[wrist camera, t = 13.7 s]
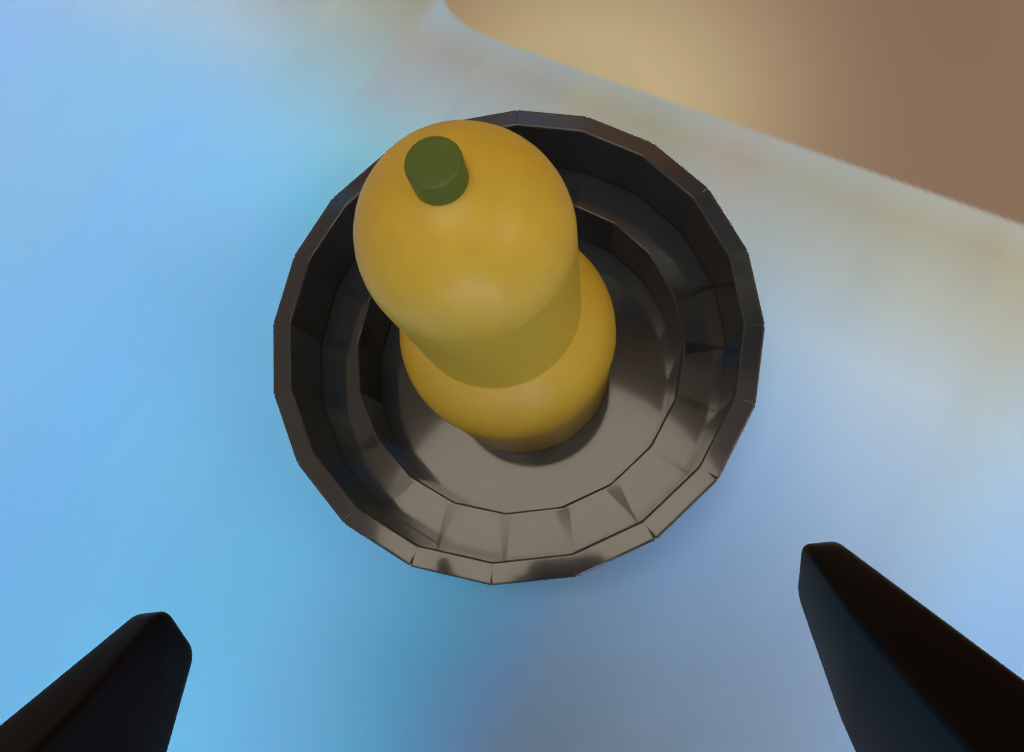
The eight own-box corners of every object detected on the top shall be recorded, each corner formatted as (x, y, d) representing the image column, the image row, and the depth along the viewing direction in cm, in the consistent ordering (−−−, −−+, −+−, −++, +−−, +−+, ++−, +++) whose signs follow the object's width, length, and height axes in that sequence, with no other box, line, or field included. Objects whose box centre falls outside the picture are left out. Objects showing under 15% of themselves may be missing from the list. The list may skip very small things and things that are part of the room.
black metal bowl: (764, 546, 20) (817, 551, 16) (344, 591, 22) (274, 608, 17) (685, 164, 24) (708, 74, 19) (331, 224, 26) (271, 154, 21)
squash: (588, 476, 21) (579, 399, 9) (414, 430, 23) (186, 303, 10) (630, 303, 23) (677, 19, 10) (464, 269, 24) (318, -23, 11)
